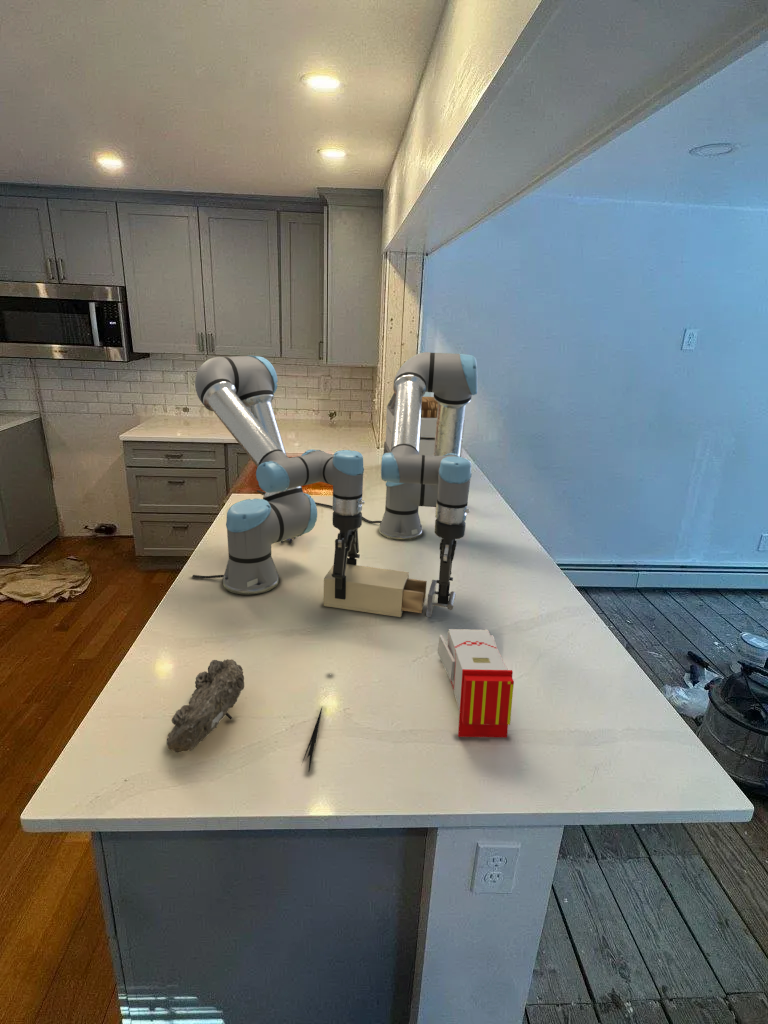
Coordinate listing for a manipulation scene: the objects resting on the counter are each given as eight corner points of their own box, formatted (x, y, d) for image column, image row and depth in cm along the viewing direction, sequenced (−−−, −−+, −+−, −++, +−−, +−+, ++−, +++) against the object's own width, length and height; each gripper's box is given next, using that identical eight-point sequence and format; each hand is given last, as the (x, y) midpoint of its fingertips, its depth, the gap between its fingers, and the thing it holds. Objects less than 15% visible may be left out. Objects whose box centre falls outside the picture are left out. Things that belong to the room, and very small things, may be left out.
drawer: (454, 603, 152) (457, 582, 150) (451, 620, 144) (454, 598, 142) (364, 591, 157) (365, 570, 154) (356, 606, 148) (357, 585, 146)
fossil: (192, 660, 117) (244, 628, 112) (224, 691, 120) (276, 661, 115) (142, 746, 98) (202, 712, 93) (182, 779, 101) (242, 748, 96)
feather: (331, 679, 122) (336, 673, 122) (307, 777, 96) (313, 769, 95) (324, 675, 122) (329, 669, 121) (298, 772, 95) (304, 764, 95)
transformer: (382, 463, 289) (386, 382, 275) (445, 464, 293) (451, 384, 279) (390, 482, 257) (394, 392, 243) (460, 483, 261) (468, 394, 247)
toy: (488, 613, 130) (523, 677, 101) (484, 667, 133) (517, 744, 104) (435, 612, 130) (455, 676, 101) (432, 666, 133) (451, 743, 103)
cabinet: (407, 599, 155) (409, 572, 153) (400, 617, 146) (402, 589, 143) (334, 588, 159) (335, 562, 156) (323, 605, 150) (323, 578, 147)
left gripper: (350, 528, 134) (348, 611, 141) (371, 499, 155) (369, 572, 162) (319, 525, 135) (319, 607, 143) (345, 496, 156) (343, 569, 164)
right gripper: (463, 531, 133) (454, 619, 141) (467, 513, 145) (459, 595, 153) (432, 527, 135) (424, 614, 143) (438, 509, 147) (431, 591, 155)
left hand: (345, 589), depth 152 cm, fingers closed on cabinet, 10 cm apart
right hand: (442, 604), depth 148 cm, fingers closed
